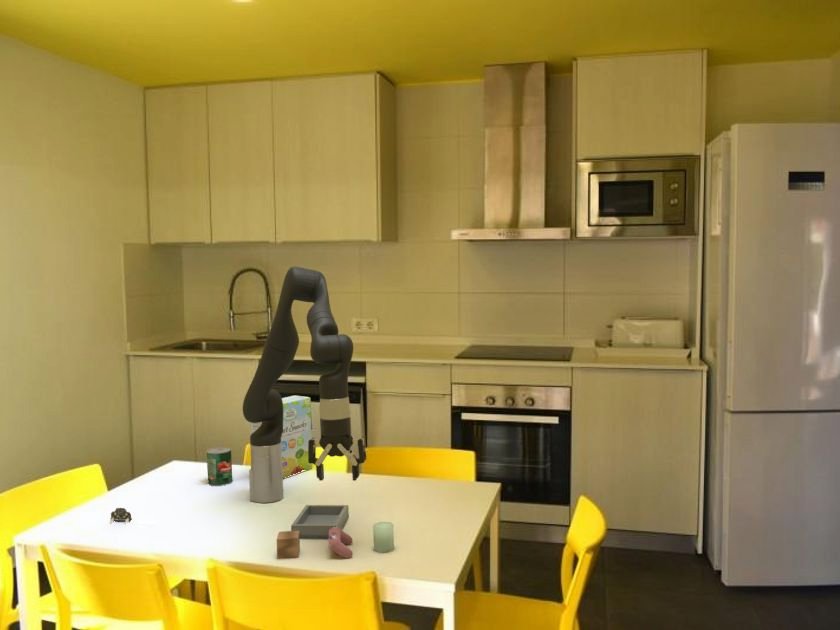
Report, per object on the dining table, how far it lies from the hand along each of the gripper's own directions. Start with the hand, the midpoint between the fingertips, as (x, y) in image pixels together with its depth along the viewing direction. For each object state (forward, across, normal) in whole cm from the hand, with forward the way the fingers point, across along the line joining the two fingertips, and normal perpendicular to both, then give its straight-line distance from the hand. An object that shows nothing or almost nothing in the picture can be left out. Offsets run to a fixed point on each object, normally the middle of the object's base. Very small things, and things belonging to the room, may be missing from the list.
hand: (338, 479), depth 180 cm
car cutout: (+16, -63, +13) cm, 66 cm away
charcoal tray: (+17, -9, +13) cm, 23 cm away
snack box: (+16, -35, +60) cm, 71 cm away
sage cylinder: (+17, +11, 0) cm, 20 cm away
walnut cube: (+17, -12, -5) cm, 22 cm away
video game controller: (+18, 0, -2) cm, 18 cm away
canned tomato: (+16, -54, +51) cm, 76 cm away
